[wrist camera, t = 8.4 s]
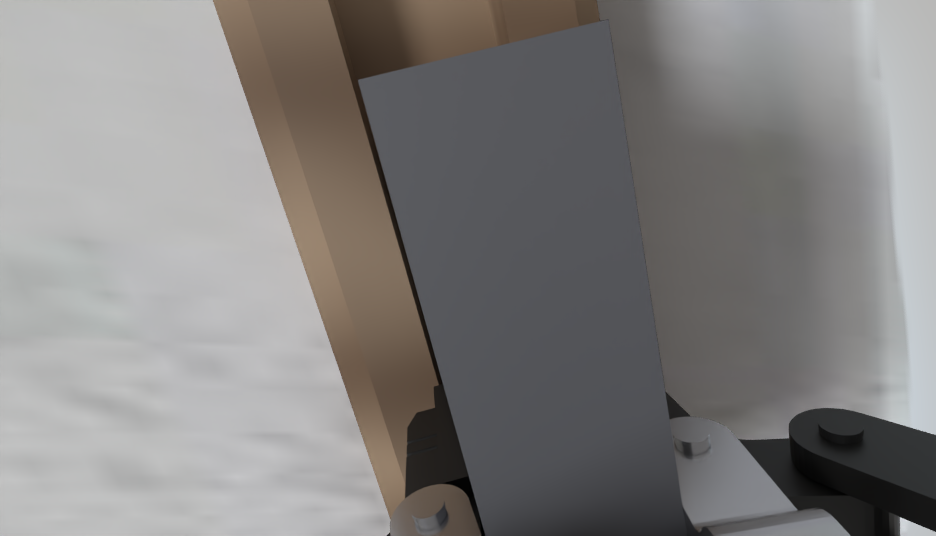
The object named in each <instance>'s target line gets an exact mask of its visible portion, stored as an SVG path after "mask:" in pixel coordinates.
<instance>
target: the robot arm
mask: <svg viewBox="0 0 936 536" xmlns="http://www.w3.org/2000/svg"><path fill="white" fill-rule="evenodd" d="M665 393H666V392H665ZM666 400H667V406H668V413H669V419H670V426H671V433H672V439H673V446H674V452H675V459H676V465H677V472H678V478H679V485H680V491H681V498H682V505H683V511H684V518H685V524H686V531H687V536H900V517H901V518H904V519H906V520H909V521H911V522H913V523H916V524H918V525H921V526H923V527H925V528H928V529H930V530H933V531H935V532H936V435H933V434H930V433H927V432H923V431H920V430H916V429H913V428H910V427H906V426H903V425H899V424H896V423H893V422H889V421H886V420H882V419H879V418H876V417H872V416H869V415H865V414H862V413H858V412H854V411H850V410H844V409H835V408H821V409H813V410H808V411H805V412H802V413H800V414H798V415H796V416H795V417H794V418H793V419H792V420H791V421H790V424H789V439H767V440H740V439H737V437H736V436H735V435H734V434H733V433H732V432H731V431H730V430H729V429H728V428H727V427H725V426H724V425H722V424H720V423H718V422H716V421H713V420H710V419H706V418H701V417H691V416H690V415H689V414H688V413H687V412H686V411H685V410H684V409H683V408H682V407H681V406H680V405H679V404H678V403H677V402H676V401H674V400H673V399H672V398H671V397H670V396H669V395H668V394H667V393H666ZM434 403H435V408H432V409H428V410H425V411H421V412H417V413H416V414H415V416H414V418H413V419H412V421H411V422H410V424H409V426H408V427H407V453H406V454H407V457H406V482H405V499H404V500H403V501H402V502H401V503H400V504H399V505H398V507H397V508H396V510H395V511H394V513H393V515H392V517H391V521H390V533H389V534H388V535H387V536H485V532H484V529H483V525H482V521H481V518H480V514H479V511H478V507H477V504H476V500H475V496H474V493H473V489H472V486H471V482H470V479H469V475H468V471H467V468H466V464H465V461H464V457H463V454H462V450H461V446H460V443H459V439H458V436H457V432H456V429H455V425H454V422H453V418H452V414H451V411H450V407H449V404H448V400H447V397H446V393H445V389H444V386H443V384H441V385H437V386H434Z"/></svg>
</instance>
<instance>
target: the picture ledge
mask: <svg viewBox="0 0 936 536" xmlns="http://www.w3.org/2000/svg"><path fill="white" fill-rule="evenodd" d="M213 2H214V5H215V8H216V11H217V14H218V17H219V20H220V23H221V25H222V28H223V31H224V34H225V37H226V40H227V43H228V46H229V49H230V52H231V55H232V58H233V61H234V63H235V66H236V69H237V72H238V75H239V78H240V81H241V84H242V87H243V90H244V93H245V96H246V99H247V101H248V104H249V107H250V110H251V113H252V116H253V119H254V122H255V125H256V128H257V131H258V134H259V137H260V139H261V142H262V145H263V148H264V151H265V154H266V157H267V160H268V163H269V166H270V169H271V172H272V174H273V177H274V180H275V183H276V186H277V189H278V192H279V195H280V198H281V201H282V204H283V207H284V210H285V212H286V215H287V218H288V221H289V224H290V227H291V230H292V233H293V236H294V239H295V242H296V245H297V248H298V250H299V253H300V256H301V259H302V262H303V265H304V268H305V271H306V274H307V277H308V280H309V283H310V286H311V288H312V291H313V294H314V297H315V300H316V303H317V306H318V309H319V312H320V315H321V318H322V321H323V324H324V326H325V329H326V332H327V335H328V338H329V341H330V344H331V347H332V350H333V353H334V356H335V359H336V361H337V364H338V367H339V370H340V373H341V376H342V379H343V382H344V385H345V388H346V391H347V394H348V397H349V399H350V402H351V405H352V408H353V411H354V414H355V417H356V420H357V423H358V426H359V429H360V432H361V435H362V437H363V440H364V443H365V446H366V449H367V452H368V455H369V458H370V461H371V464H372V467H373V470H374V473H375V475H376V478H377V481H378V484H379V487H380V490H381V493H382V496H383V499H384V502H385V505H386V508H387V511H388V513H389V516H390V519H391V517H392V515H393V513H394V511H395V510H396V508H397V507H398V505H399V504H400V503H401V502H402V501H403V500H404V499H405V482H406V457H407V454H406V453H407V427H408V426H409V424H410V422H411V421H412V419H413V418H414V416H415V414H416V413H417V412H421V411H425V410H428V409H432V408H435V403H434V386H437V385H441V384H443V382H442V379H441V375H440V372H439V368H438V364H437V361H436V357H435V354H434V350H433V347H432V343H431V339H430V336H429V332H428V329H427V325H426V322H425V318H424V314H423V311H422V307H421V304H420V300H419V297H418V293H417V289H416V286H415V282H414V279H413V275H412V272H411V268H410V264H409V261H408V257H407V254H406V250H405V247H404V243H403V239H402V236H401V232H400V229H399V225H398V222H397V218H396V214H395V211H394V207H393V204H392V200H391V197H390V193H389V190H388V186H387V182H386V179H385V175H384V172H383V168H382V165H381V161H380V157H379V154H378V150H377V147H376V143H375V140H374V136H373V132H372V129H371V125H370V122H369V118H368V115H367V111H366V107H365V104H364V100H363V97H362V93H361V90H360V86H359V82H358V80H359V79H364V78H368V77H372V76H376V75H380V74H384V73H388V72H392V71H397V70H401V69H405V68H409V67H413V66H417V65H421V64H426V63H430V62H434V61H438V60H442V59H446V58H450V57H454V56H459V55H463V54H467V53H471V52H475V51H479V50H483V49H488V48H492V47H496V46H500V45H504V44H508V43H512V42H517V41H521V40H525V39H529V38H533V37H537V36H541V35H545V34H550V33H554V32H558V31H562V30H566V29H570V28H574V27H579V26H583V25H587V24H591V23H595V22H599V21H600V18H599V12H598V6H597V0H213Z"/></svg>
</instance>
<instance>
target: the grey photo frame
mask: <svg viewBox="0 0 936 536" xmlns="http://www.w3.org/2000/svg"><path fill="white" fill-rule="evenodd" d="M358 82H359V86H360V90H361V93H362V97H363V100H364V104H365V107H366V111H367V115H368V118H369V122H370V125H371V129H372V132H373V136H374V140H375V143H376V147H377V150H378V154H379V157H380V161H381V165H382V168H383V172H384V175H385V179H386V182H387V186H388V190H389V193H390V197H391V200H392V204H393V207H394V211H395V214H396V218H397V222H398V225H399V229H400V232H401V236H402V239H403V243H404V247H405V250H406V254H407V257H408V261H409V264H410V268H411V272H412V275H413V279H414V282H415V286H416V289H417V293H418V297H419V300H420V304H421V307H422V311H423V314H424V318H425V322H426V325H427V329H428V332H429V336H430V339H431V343H432V347H433V350H434V354H435V357H436V361H437V364H438V368H439V372H440V375H441V379H442V382H443V386H444V389H445V393H446V397H447V400H448V404H449V407H450V411H451V414H452V418H453V422H454V425H455V429H456V432H457V436H458V439H459V443H460V446H461V450H462V454H463V457H464V461H465V464H466V468H467V471H468V475H469V479H470V482H471V486H472V489H473V493H474V496H475V500H476V504H477V507H478V511H479V514H480V518H481V521H482V525H483V529H484V532H485V536H687V531H686V524H685V518H684V511H683V505H682V498H681V491H680V485H679V478H678V472H677V465H676V459H675V452H674V446H673V439H672V433H671V426H670V419H669V413H668V406H667V400H666V393H665V387H664V380H663V374H662V367H661V361H660V354H659V347H658V341H657V334H656V328H655V321H654V315H653V308H652V302H651V295H650V289H649V282H648V276H647V269H646V262H645V256H644V249H643V243H642V236H641V230H640V223H639V217H638V210H637V204H636V197H635V190H634V184H633V177H632V171H631V164H630V158H629V151H628V145H627V138H626V132H625V125H624V118H623V112H622V105H621V99H620V92H619V86H618V79H617V73H616V66H615V60H614V53H613V47H612V40H611V33H610V27H609V20H608V19H607V20H603V21H599V22H595V23H591V24H587V25H583V26H579V27H574V28H570V29H566V30H562V31H558V32H554V33H550V34H545V35H541V36H537V37H533V38H529V39H525V40H521V41H517V42H512V43H508V44H504V45H500V46H496V47H492V48H488V49H483V50H479V51H475V52H471V53H467V54H463V55H459V56H454V57H450V58H446V59H442V60H438V61H434V62H430V63H426V64H421V65H417V66H413V67H409V68H405V69H401V70H397V71H392V72H388V73H384V74H380V75H376V76H372V77H368V78H364V79H359V80H358Z"/></svg>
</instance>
